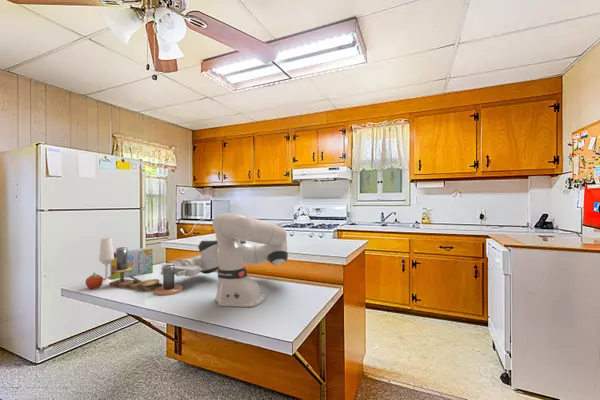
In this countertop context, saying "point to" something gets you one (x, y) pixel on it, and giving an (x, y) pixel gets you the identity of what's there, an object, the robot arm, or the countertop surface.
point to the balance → (134, 282)
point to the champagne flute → (106, 256)
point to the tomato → (94, 281)
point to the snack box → (135, 262)
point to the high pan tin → (122, 258)
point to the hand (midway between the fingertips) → (169, 273)
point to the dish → (168, 292)
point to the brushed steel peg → (168, 277)
